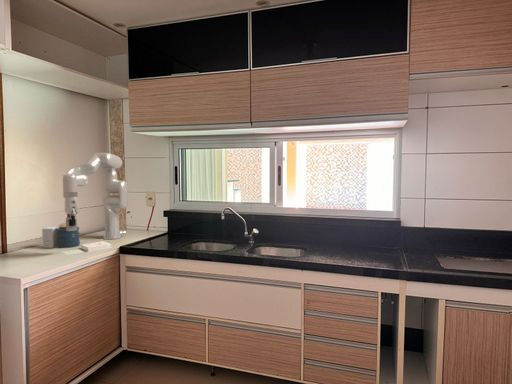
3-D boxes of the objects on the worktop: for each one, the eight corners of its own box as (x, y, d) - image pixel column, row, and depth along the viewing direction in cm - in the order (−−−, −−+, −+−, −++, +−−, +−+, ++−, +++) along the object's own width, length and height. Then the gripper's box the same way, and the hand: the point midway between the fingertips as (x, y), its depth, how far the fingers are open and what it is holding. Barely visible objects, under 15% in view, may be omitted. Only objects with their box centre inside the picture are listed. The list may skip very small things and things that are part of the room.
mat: (78, 250, 216) (78, 249, 216) (84, 252, 209) (84, 251, 209) (61, 252, 209) (61, 252, 209) (66, 255, 202) (66, 254, 202)
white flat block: (103, 245, 228) (103, 241, 228) (111, 248, 220) (111, 244, 220) (81, 249, 218) (81, 244, 218) (88, 252, 210) (88, 247, 210)
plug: (75, 229, 211) (74, 216, 211) (77, 230, 209) (76, 217, 208) (66, 230, 208) (65, 217, 207) (68, 231, 205) (67, 218, 205)
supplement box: (60, 245, 229) (60, 226, 229) (53, 248, 222) (52, 228, 221) (50, 245, 230) (49, 226, 229) (42, 247, 223) (41, 228, 222)
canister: (68, 249, 218) (67, 221, 217) (52, 248, 222) (51, 221, 221) (84, 245, 230) (83, 219, 229) (69, 243, 234) (68, 218, 233)
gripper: (81, 195, 204) (82, 226, 205) (72, 194, 215) (73, 223, 216) (68, 196, 198) (69, 227, 199) (59, 194, 210) (60, 224, 211)
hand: (71, 225), depth 208 cm, fingers closed on plug, 3 cm apart
